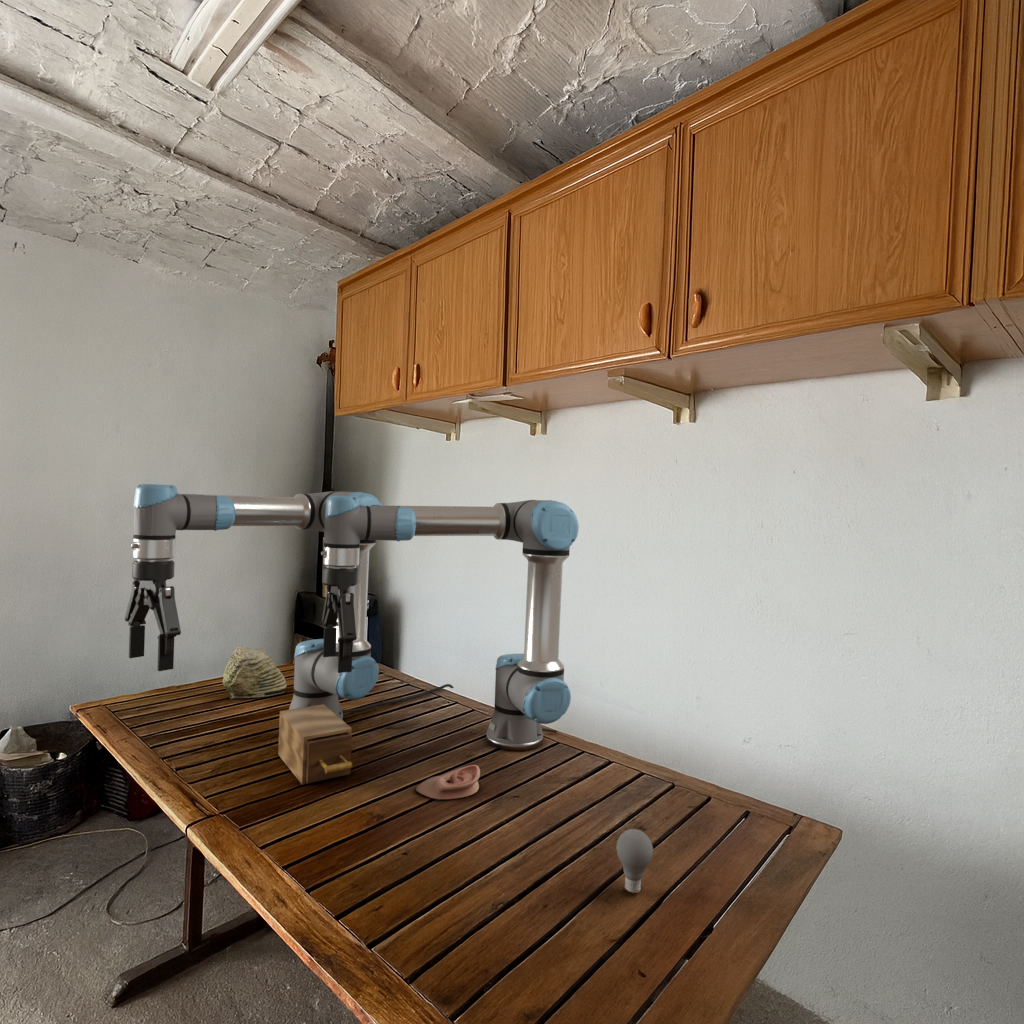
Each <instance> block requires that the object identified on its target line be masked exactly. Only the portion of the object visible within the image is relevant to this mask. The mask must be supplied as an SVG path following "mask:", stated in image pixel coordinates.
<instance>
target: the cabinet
mask: <svg viewBox="0 0 1024 1024" xmlns="http://www.w3.org/2000/svg"><path fill="white" fill-rule="evenodd" d="M352 730H353V729H352V727H351V726H350V725H349V724H348V723H346V721H344V719H343V720H342V719H340V718H339V717H338V716H337V715H336V714H334V713H333V712H332V711H331V710H330V709H329V708H327V707H326V706H325V705H324V704H323V705H317V706H310V707H304V708H297V709H291V710H289V709H285V710H279V721H278V746H277V747H278V748H277V749H278V750H277V751H278V752H277V753H278V754H277V755H278V756H279V757H280V759H281V760H282V761H283V763H284V764H285V765H286V766H287V768H288V769H289V770H290V771H291V773H292V774H293V775H294V777H295V778H296V779H297V780H298V782H299V783H300V785H301V786H303V785H308V784H309V783H307V782H306V765H307V740H309V739H314V738H319V737H325V736H330V735H336V734H341V733H345V734H351V735H352ZM343 776H345V775H343ZM343 776H342V777H343ZM334 778H336V777H334ZM334 778H333V779H334ZM325 780H327V779H325ZM325 780H324V781H325ZM316 782H318V781H316ZM313 783H314V782H312V783H311V784H313Z"/></svg>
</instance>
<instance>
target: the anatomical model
mask: <svg viewBox="0 0 1024 1024" xmlns="http://www.w3.org/2000/svg"><path fill="white" fill-rule="evenodd" d="M480 776H481V769H480V767H479V765H477V764H470V765H466V766H463V767H462V766H461V767H459V768H457V769H453V770H451V771H450V772H447V773H444V774H442V775H436V776H432V777H429V778H427V779H426V780H424V781H422V782H420V783H419V784H418V785H417V786H416V787H415V791H416V792H417V793H419V794H421V795H423V796H425V797H428V798H431V799H434V800H453V799H454V800H455V799H460V798H466V797H469V796H471V795H474V794H476V793H477V792H478V791H479V788H480V784H479V779H480Z"/></svg>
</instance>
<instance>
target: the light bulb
mask: <svg viewBox="0 0 1024 1024" xmlns="http://www.w3.org/2000/svg"><path fill="white" fill-rule="evenodd" d="M615 849H616V854H617V857H618V859H619V861H620V863H621V865H622V867H623V873H624V874H623V875H624V876H625V878H624V888H625V890H627V891H628V892H630V893H634V894H635V893H639V892H640V891H641V889H642V887H641V886H642V879H643V877H644V875H645V871H646V868H647V867H648V866H649V864H650V863H651V861H652V859H653V855H654V847H653V843H652V841H651V838H649V836H648V835H647V834H646V833H645V832H643V831H642V830H641V829H636V828H629V829H627V830H625V831H623V832H622V833H621V834H620V835H619V837H618V839H617V841H616V847H615Z"/></svg>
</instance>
